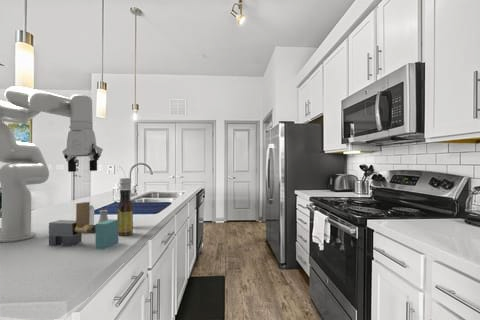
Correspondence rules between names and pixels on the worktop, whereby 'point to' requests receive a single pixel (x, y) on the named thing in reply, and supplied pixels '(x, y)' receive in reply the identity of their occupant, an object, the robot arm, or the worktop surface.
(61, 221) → the sleeve
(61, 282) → the worktop surface
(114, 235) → the socket block
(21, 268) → the worktop surface
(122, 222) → the sauce bottle
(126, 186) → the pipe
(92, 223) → the can
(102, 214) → the flask
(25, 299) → the worktop surface
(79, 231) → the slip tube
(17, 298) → the worktop surface
